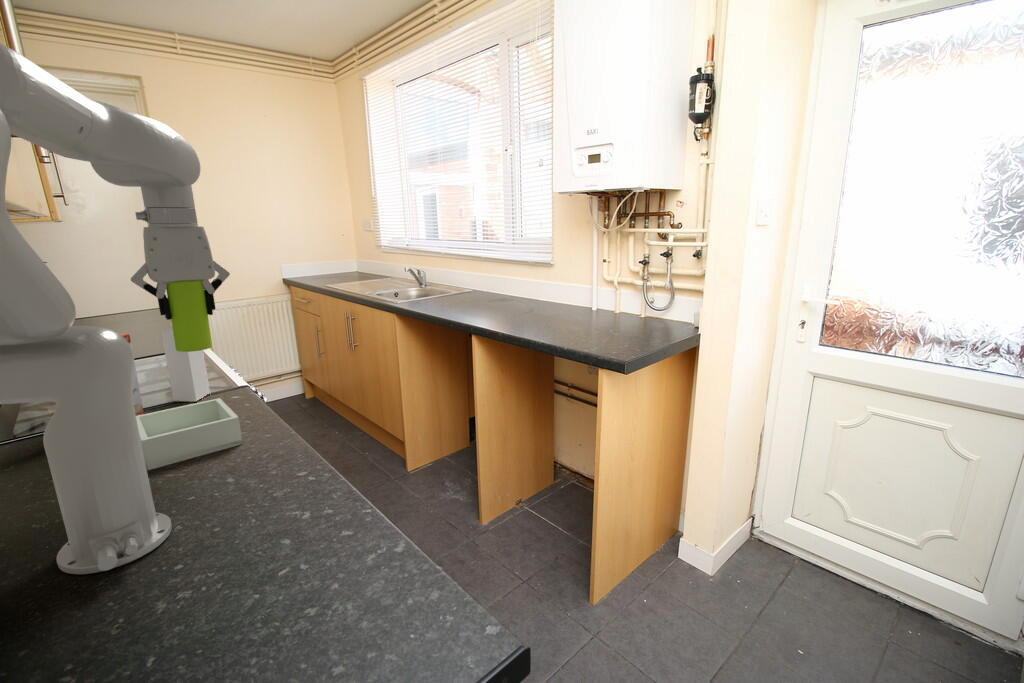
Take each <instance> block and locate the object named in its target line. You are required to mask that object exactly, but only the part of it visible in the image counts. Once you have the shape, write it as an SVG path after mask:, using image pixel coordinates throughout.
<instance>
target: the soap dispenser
mask: <svg viewBox="0 0 1024 683" xmlns="http://www.w3.org/2000/svg"><path fill="white" fill-rule="evenodd" d="M204 290H205V289H204V286H203V282H202V281H180V282H174V283H168V284H167V288H166V297H167V298H168V300H169V306H170V311H171V316H172V319H170V321H171V322H172V329H173V335H174V341H175V348H176V351H179V352H193V351H201V350H203V351H204V350H208V349H211V348H212V347H213V344H212V343H213V342H212V336H211V329H210V322H209V321H210V320H209V315H208V313H207V306H206V299H205V291H204ZM171 322H170V323H171Z"/></svg>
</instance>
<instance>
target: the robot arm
mask: <svg viewBox="0 0 1024 683" xmlns="http://www.w3.org/2000/svg"><path fill="white" fill-rule="evenodd" d="M12 135H13V136H15V137H18V138H20V139H21V140H24V141H27V142H29V143H32V144H34V145H36V146H38V147H40V148H42V149H44V150H47V151H48V152H51V153H53V154H55V155H57V156H60V157H63V158H66V159H67V158H68V159H72V160H75V161H76V160H77V161H82V162H87V163H88V162H89V163H90V166H91V167H92V168H93V169H92V170H94V172H95V173H96V174H97V176H99V177H100V178H102V180H104V181H105V182H107V183H109V184H112V185H115V186H118V187H119V186H120V187H127V188H128V187H132V188H135V187H136V188H137V187H138V188H139V187H140V190H141V195H142V201H143V207H144V210H142V211H134V212H135V218H136V220H137V221H143V222H145V223H147V226H143V232H142V234H143V235H142V237H143V238H142V239H143V250H144V251H143V252H144V259H145V262H144V263H143V265H142V266H141V267H140V268H139V269H138V270H137V271H136V272H135V273H134V274H133V275H132V276H131V277H130V281H131V283H133V284H134V285H136V286H137V287H139V288H141V289H143V290H145V292H148V293H149V294H150V295H152V296H154V297H156V298H157V303H158V308H159V313H160V314H159V315H160V316H164V317H165V319H166V320H167V321H168V320H169V321H171V319H172V316H171V311H170V306H169V300H168V297H167V294H166V292H167V290H166V288H167V284H168V283H174V282H180V281H202V282H203V286H204V291H205V299H206V306H207V313H208V316H213V315H214V311H215V310H216V303H215V296H214V294H215V292H216V291H217V290H218V288H220V287H221V285H222V284H223V283H224V282H225V281H226V280H227V279H228V277H230V275H231V273H230V271H228V270H226V269H225V267H222V266H221V265H220V264H218V263H217V262H216V261H214V260H213V259H214V258H213V254H212V249H211V246H210V242H209V239H208V236H207V233H206V229H205V227H204V226H199V222H198V218H197V211H196V204H195V199H194V198H195V197H194V193H193V187H192V185H194V184H195V183H196V182H197V181H198V180H199V177H200V176H201V163H200V159H199V157H198V155H197V152H196V151H195V149H194V148H193V146H192V145H191V144H190V143H189V141H187V140H186V139H185V138H184V137H183V136H182V135H181V134H179V133H178V132H177V131H175V130H174V129H172V128H171V127H169V126H168V125H166V124H164V123H163V122H161V121H158V120H156V119H153V118H150V117H147V116H145V115H141V114H139V113H136V112H133V111H129V110H126V109H123V108H120V107H118V106H115V105H112V104H108V103H106V102H102V101H99V100H95V99H92V98H89V97H87V96H85V95H83V93H80V92H79V91H78V90H76V89H75V88H74V87H71V86H70V85H69V84H67V83H65V82H64V81H62V80H61V79H59V78H58V77H56V76H54V75H53V74H51V73H50V72H49V71H48V70H45V69H44V68H43V67H40V66H39V65H38V64H36V63H35V62H33V61H31V60H30V59H28V58H27V57H25V55H22V54H21V53H19V52H17V51H16V50H14V49H13V48H11V47H9V46H7V45H5V44H2V43H0V405H14V404H27V403H28V404H29V403H31V404H32V403H55V404H56V408H55V411H54V413H53V415H52V416H51V418H50V419H49V421H48V423H47V424H46V427H45V430H44V432H43V440H42V441H43V447H44V451H45V455H46V458H47V462H48V465H49V469H50V470H49V471H50V474H51V477H52V480H53V481H52V482H53V486H54V489H55V494H56V498H57V500H58V501H57V502H58V504H59V508H60V512H61V517H62V520H63V525H64V527H65V528H64V529H65V531H66V535H67V536H66V537H67V539H68V541H67V542H66V543H65V544H64V545H62V547H61V548H60V550H59V551H58V552H57V555H56V564H57V567H58V569H59V570H61V572H64V573H65V574H72V575H89V574H95V573H100V572H106V571H109V570H112V569H115V568H117V567H121V566H124V565H126V564H129V563H132V562H133V561H135V560H137V559H141V558H142V557H143V556H145V555H147V554H149V553H151V552H152V551H153V550H155V549H156V548H158V547H159V546H160V545H161V544H162V543H163V542H164V541H166V539H167V538H168V537H169V536H170V533H171V531H172V530H173V528H172V527H173V525H172V520H171V518H170V517H169V516H168V515H167V514H164V513H161V512H156V507H155V503H154V499H153V493H152V488H151V483H150V479H149V475H148V469H147V467H146V464H145V459H144V454H143V449H142V444H141V439H140V435H139V430H138V426H137V420H136V415H135V409H134V401H133V356H134V352H133V353H132V351H133V348H132V349H131V347H130V344H129V343H128V341H127V340H126V339H125V338H124V337H123V336H122V335H120V334H119V332H117V331H114V330H112V329H109V328H106V327H102V326H94V325H93V326H92V325H74V324H75V323H74V322H75V321H76V317H77V316H76V315H77V313H76V312H77V310H76V306H75V303H74V301H73V298H72V297H71V295H70V293H69V291H68V290H67V288H65V286H63V284H62V282H61V281H60V280H59V278H57V277H56V275H55V274H54V273H53V272H52V271H51V269H50V268H49V267H48V265H47V264H46V263H45V262H44V261H43V260H42V258H41V257H40V256H39V255H38V254H37V252H36V251H35V250H34V249H33V247H32V246H31V244H29V243H28V241H27V240H26V239H25V237H23V235H22V233H21V232H20V231H19V230H18V229H17V228H18V227H17V226H16V225H15V224H14V222H13V221H12V218H11V217H10V215H9V213H8V207H7V204H6V184H7V175H8V174H7V173H8V167H9V160H10V155H11V151H12V150H11V149H12ZM216 273H217V274H218V275H217V276H216ZM146 275H148V277H149V280H151V281H153V282H155V283H156V287H155V286H153V285H151V284H149V283H148V282H146V281H145V280H144V277H145V276H146ZM215 276H216V277H215ZM214 277H215V278H214ZM213 278H214V279H213ZM211 279H213V280H212V281H211V282H210V280H211Z"/></svg>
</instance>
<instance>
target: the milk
mask: <svg viewBox="0 0 1024 683" xmlns="http://www.w3.org/2000/svg"><path fill="white" fill-rule="evenodd" d="M169 322H170V326H169V327H167V328H166V329H164V330H162V331H161V333H160V334H161V340H162V345H163V351H164V356H165V362H166V367H167V372H168V377H169V384H170V387H171V388H170V389H171V394H172V399H173V401H174V400H179V401H197V400H199V399H201V398H203V397H204V396H206V395H207V394H209V393H210V394H211V390H210V383H209V378H208V372H207V365H206V359H205V355H204V350H201V351H193V352H179V351H176V348H175V341H174V335H173V329H172V322H171V320H169Z"/></svg>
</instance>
